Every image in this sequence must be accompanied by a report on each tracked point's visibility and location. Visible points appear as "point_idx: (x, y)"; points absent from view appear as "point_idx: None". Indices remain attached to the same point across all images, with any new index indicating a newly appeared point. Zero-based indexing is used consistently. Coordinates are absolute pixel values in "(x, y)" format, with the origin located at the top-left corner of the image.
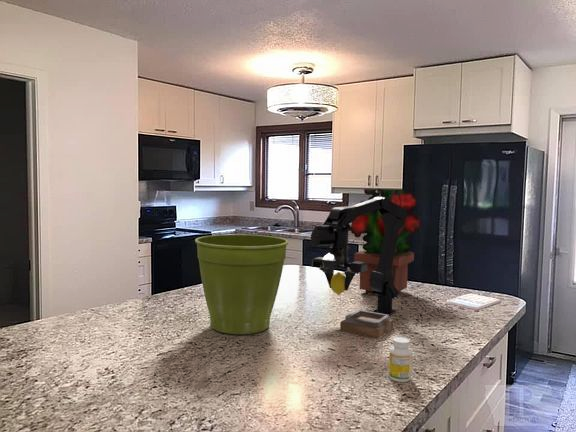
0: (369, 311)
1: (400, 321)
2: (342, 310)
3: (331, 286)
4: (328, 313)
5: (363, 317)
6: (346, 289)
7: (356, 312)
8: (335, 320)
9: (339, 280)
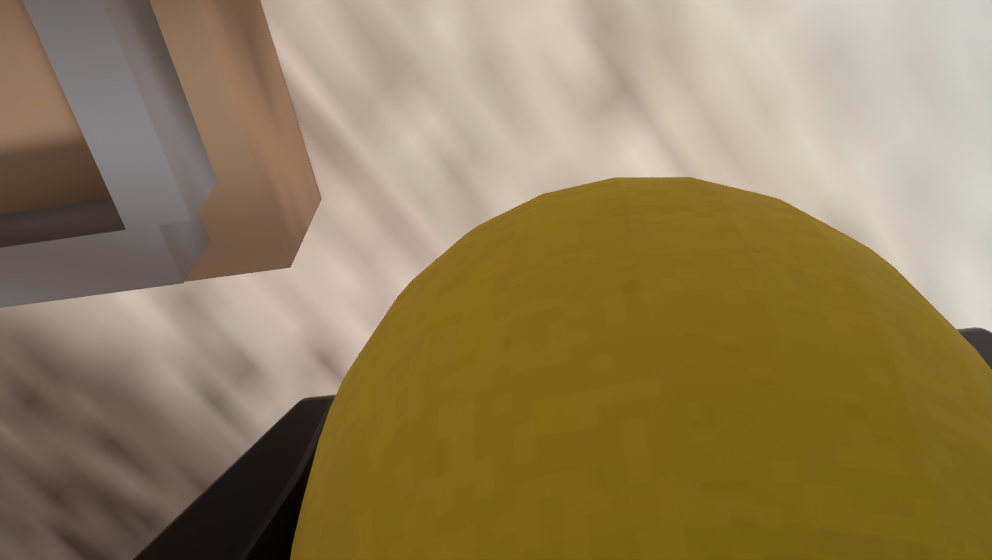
0: (7, 306)
1: (13, 528)
2: None
3: (851, 242)
4: (891, 251)
5: (14, 116)
6: (283, 423)
7: (72, 83)
8: (598, 15)
9: (400, 552)
